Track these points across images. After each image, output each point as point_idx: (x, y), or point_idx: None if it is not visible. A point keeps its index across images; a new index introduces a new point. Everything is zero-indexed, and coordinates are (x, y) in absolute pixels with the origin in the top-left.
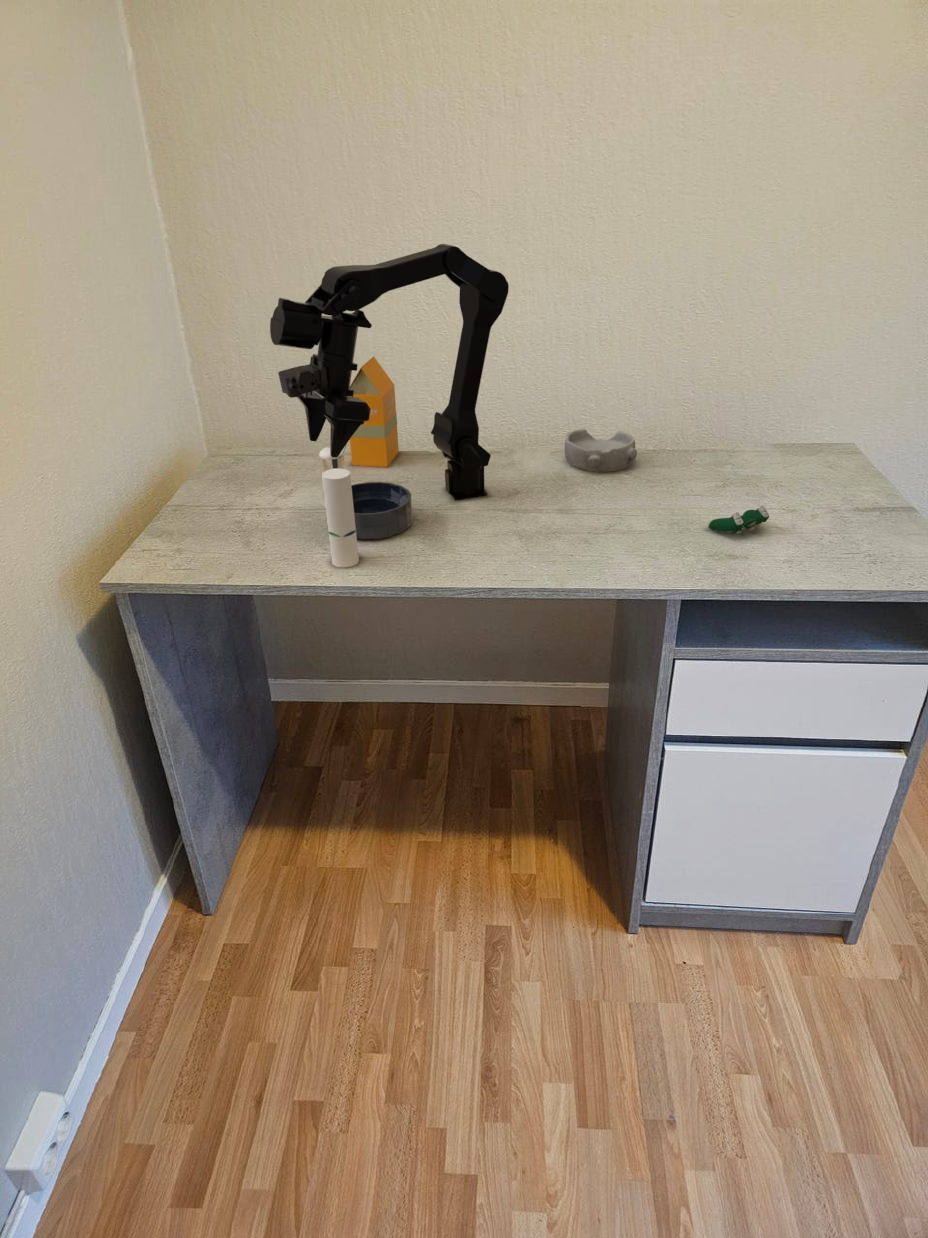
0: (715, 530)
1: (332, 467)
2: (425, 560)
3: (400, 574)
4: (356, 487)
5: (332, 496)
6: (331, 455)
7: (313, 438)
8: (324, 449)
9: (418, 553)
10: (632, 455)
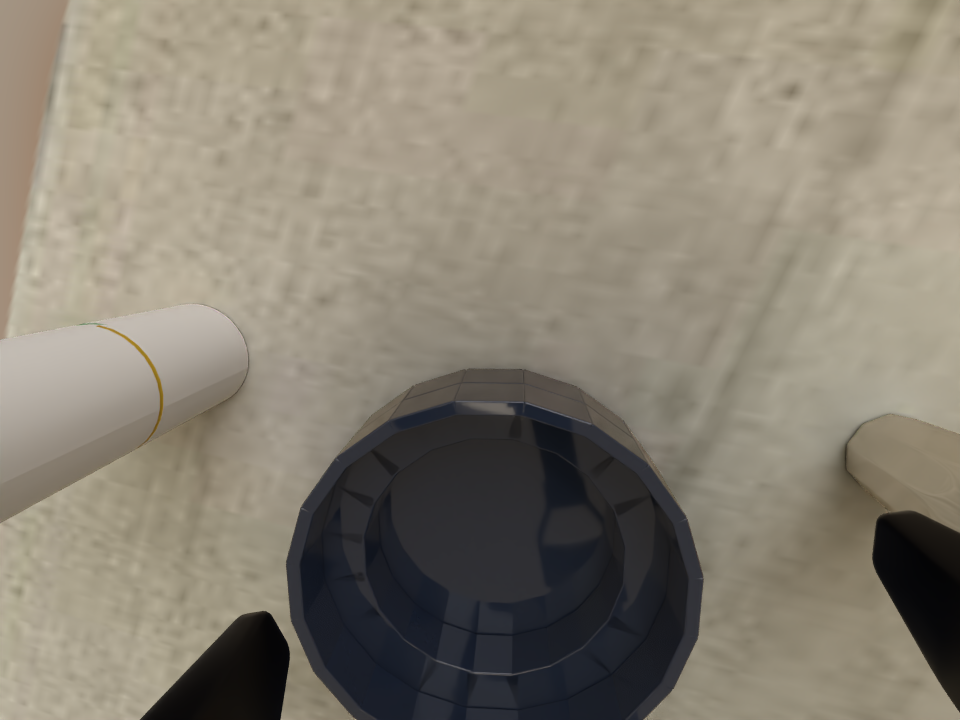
0: None
1: (953, 519)
2: (140, 611)
3: (58, 511)
4: (681, 567)
5: None
6: (234, 622)
7: (892, 559)
8: None
9: (196, 605)
10: None
